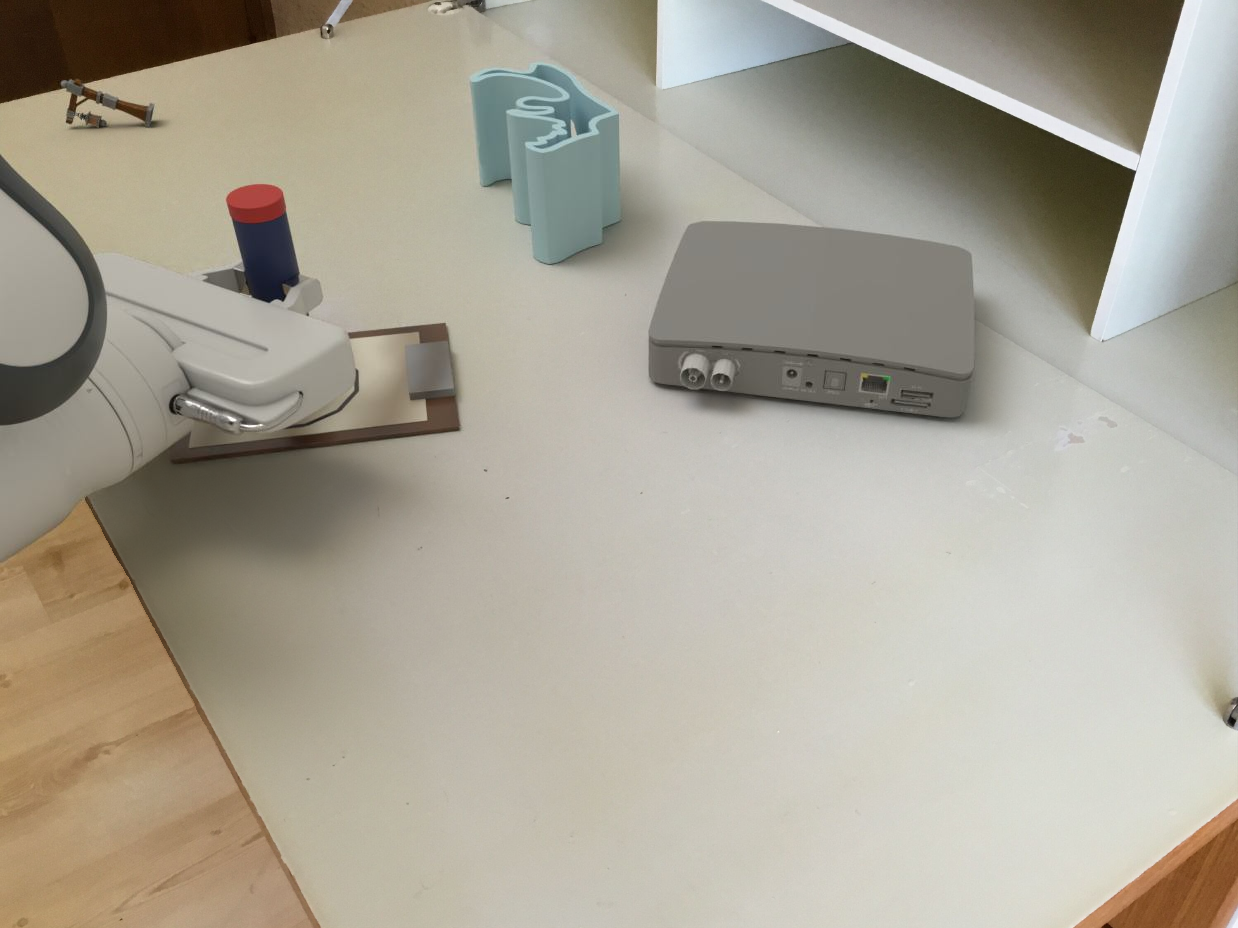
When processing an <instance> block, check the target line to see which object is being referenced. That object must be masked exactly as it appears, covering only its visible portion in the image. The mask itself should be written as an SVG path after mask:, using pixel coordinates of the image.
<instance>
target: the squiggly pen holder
mask: <svg viewBox="0 0 1238 928" xmlns="http://www.w3.org/2000/svg"><path fill="white" fill-rule="evenodd" d="M469 87H470V97H471V106H472V116H473V122H474V123H473V125H474V135H475V145H476V153H477V155H476V156H477V164H478V174H479V183H480V186H481V187H488V186H490V185H492V184H494V183H495V182H499V181H503V180H511V185H512V186H511V187H512V199H513V211H514V220H515V221H516V222H518V223H520V224H523V225H529V226H530V227H531V228H530V232H531V244H532V255H533V258H534V259H535V260H537V261H539V262H540V263H543V264H547V265H553V264H556V263H557V264H558V263H560V262H562V261H563V260H566V259H568V258H569V257H571V256H573V255H575V254H577V253H578V252H581V251H584V250H586V249H589V248H591V247H594V246H598V245H601V244H603V228H606V227H608V226H611V225H614V224H617V223H619V222H621V220H622V216H621V215H622V213H621V211H622V209H621V163H620V162H621V161H620V159H621V157H620V156H621V152H620V112H619V110H617V109H616V108H614V107H612V106H611V105H609V104H607V103H606V102H603V101H602V100H600V99H599V98H598V97H595V96H594V95H593V94H592V93H590V92H589V91H587V89H586V88H585V87H584V86H583V85H582V84H581V82H580V81H579V79H578V77H576V76H575V75H574V74H573V73H571V72H570V71H568V70H566V69H564V68H563V67H560V66H558V65H555V64H552V63H549V62H543V61H542V62H541V61H536V62H531V63H530V65H529V67H528V69H527V70H519V69H518V70H517V69H513V68H507V67H502V66H501V67H499V66H496V67H495V66H494V67H488V68H483V69H480V70H478V71H476V72H475V73H473V74H471V76H469ZM572 123H573V126H574V130H575V133H576V135H574V136H572Z"/></svg>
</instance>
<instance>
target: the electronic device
mask: <svg viewBox="0 0 1238 928" xmlns="http://www.w3.org/2000/svg"><path fill="white" fill-rule="evenodd" d="M684 230H685V231H684V232H683V234H682V236H681V240H680V241H679V244H678V246H677V247H676V251H675V252H674V255H673V258H672V260H671V263H670V266H669V268H668V271H667V273H666V276H665V279H664V282H663V285H662V287H661V291H660V293H659V295H658V299H657V302H656V305H655V307H654V310H653V315H652V318H651V321H650V324H649V328H648V334H647V335H648V377H649V379H650V380H651V381H652V382H654V383H657V384H661V385H669V386H677V387H684V388H687V389H689V390H700V389H703V390H711V391H712V390H713V391H719V392H720V391H721V392H729V393H737V394H744V395H745V394H746V395H753V396H762V397H770V398H778V399H788V400H797V401H805V402H813V403H820V404H821V403H822V404H831V405H837V406H838V405H839V406H847V407H855V408H864V409H865V408H866V409H872V410H873V409H874V410H881V411H888V412H889V411H890V412H900V413H906V414H916V415H925V416H933V417H940V418H957V417H960V416H961V415H962V414H964V412H965V410H966V404H967V401H968V395H969V391H970V387H971V382H972V377H973V372H974V369H975V292H974V290H975V288H974V286H975V285H974V272H973V271H974V270H973V268H974V267H973V256H972V253H971V252H970V251H969V250H967V249H965V248H963V247H960V246H958V245H952V244H948V243H941V242H936V241H933V240H932V241H931V240H927V239H926V240H925V239H920V238H918V239H917V238H912V237H907V236H900V235H893V234H887V233H886V234H885V233H877V232H870V231H861V230H853V229H846V228H845V229H844V228H837V227H824V226H814V225H813V226H812V225H801V224H788V223H773V222H754V221H752V222H750V221H731V220H729V221H725V220H724V221H723V220H722V221H721V220H719V221H718V220H717V221H716V220H701V221H697V222H693V223H689V224H688V225H687V226H686V229H684Z"/></svg>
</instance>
